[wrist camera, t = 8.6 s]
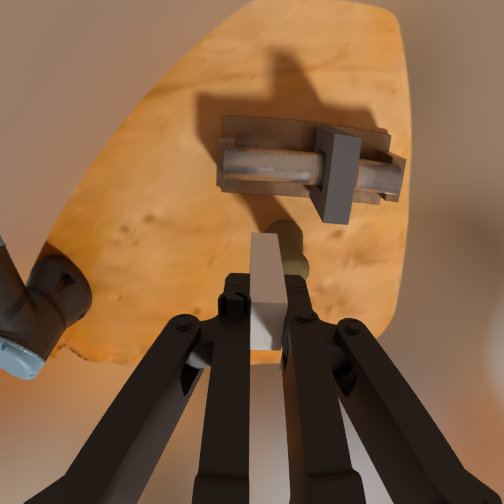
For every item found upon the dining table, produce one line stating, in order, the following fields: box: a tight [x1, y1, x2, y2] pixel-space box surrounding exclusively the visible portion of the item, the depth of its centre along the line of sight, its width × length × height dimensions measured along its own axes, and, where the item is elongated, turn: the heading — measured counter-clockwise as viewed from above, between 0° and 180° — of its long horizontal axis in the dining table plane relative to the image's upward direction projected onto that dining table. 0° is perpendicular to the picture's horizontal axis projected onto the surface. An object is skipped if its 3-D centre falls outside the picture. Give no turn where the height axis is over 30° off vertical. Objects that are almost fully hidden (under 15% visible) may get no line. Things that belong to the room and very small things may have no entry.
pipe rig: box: [216, 116, 406, 205], centre depth 36 cm, size 24×11×9 cm, turn 87°
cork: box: [266, 220, 309, 281], centre depth 41 cm, size 6×6×11 cm
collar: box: [309, 127, 362, 225], centre depth 35 cm, size 3×10×10 cm, turn 177°
